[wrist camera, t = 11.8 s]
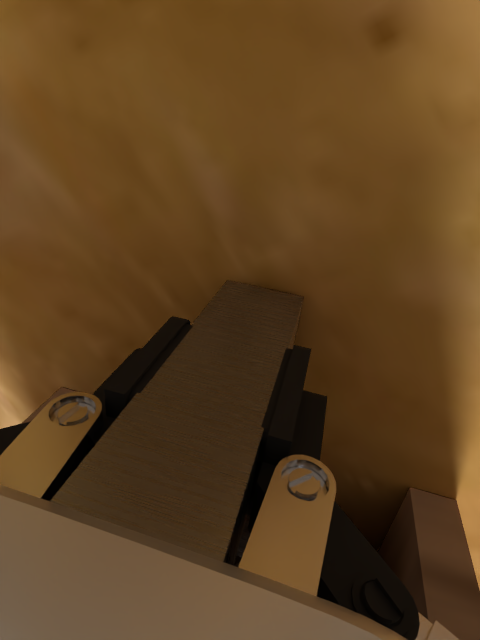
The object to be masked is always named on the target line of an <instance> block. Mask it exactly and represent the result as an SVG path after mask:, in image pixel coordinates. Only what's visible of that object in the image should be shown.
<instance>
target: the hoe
mask: <svg viewBox="0 0 480 640" xmlns="http://www.w3.org/2000/svg"><path fill="white" fill-rule="evenodd" d="M303 299H304V297H303V296H299V295H294V294H289V293H285V292H280V291H275V290H271V289H266V288H261V287H257V286H252V285H247V284H243V283H238V282H233V281H229V280H227V281H226V282H225V284H224V285H223V286H222V287H221V289H220V290H219V291H218V292H217V294H216V295H215V296H214V297H213V299H212V300H211V301H210V302H209V304H208V305H207V306H206V307H205V309H204V310H203V311H202V312H201V314H200V315H199V316H198V317H197V319H196V320H195V321H194V322H193V324H192V326H193V327H192V328H191V329H190V330H189V332H188V333H187V334H186V335H185V337H184V338H183V339H182V341H181V342H180V343H179V344H178V346H177V347H176V348H175V349H174V351H173V352H172V353H171V354H170V356H169V357H168V358H167V360H166V361H165V362H164V363H163V365H162V366H161V367H160V368H159V370H158V371H157V372H156V373H155V375H154V376H153V377H152V379H151V380H150V381H149V382H148V384H147V385H146V386H145V387H144V389H143V390H142V391H141V392H140V393H136V395H135V396H134V397H133V398H132V400H131V401H130V402H129V403H128V405H127V406H126V407H125V408H124V410H123V411H122V412H121V413H120V415H119V416H118V417H117V418H116V420H115V421H114V422H113V423H112V425H111V426H110V427H109V428H108V430H107V431H106V432H105V433H104V435H103V436H102V437H101V438H100V440H99V441H98V442H97V443H96V445H95V446H94V447H93V448H92V450H91V451H90V452H89V453H88V455H87V456H86V457H85V458H84V460H83V461H82V462H81V463H80V465H79V466H78V467H77V468H76V470H75V471H74V472H73V473H72V475H71V476H70V477H69V478H68V480H67V481H66V482H65V483H64V485H63V486H62V487H61V488H60V490H59V491H58V492H57V493H56V494H55V496H54V497H53V498H52V499H51V501H50V502H52V503H55V504H58V505H61V506H64V507H67V508H70V509H73V510H76V511H78V512H81V513H84V514H87V515H90V516H93V517H96V518H99V519H102V520H104V521H107V522H110V523H113V524H116V525H119V526H122V527H125V528H127V529H130V530H133V531H136V532H139V533H142V534H145V535H147V536H150V537H153V538H156V539H159V540H162V541H165V542H168V543H170V544H173V545H176V546H179V547H182V548H184V549H187V550H190V551H193V552H196V553H199V554H201V555H204V556H207V557H210V558H213V559H215V560H218V561H221V562H224V563H227V564H230V565H232V566H235V567H239V564H240V561H241V559H242V556H243V553H244V551H245V548H246V545H247V542H248V540H249V537H250V533H249V531H248V525H249V520H250V515H247V511H248V505H249V500H250V495H251V490H252V484H253V479H254V474H255V469H256V463H257V458H258V453H259V448H260V443H261V438H262V434H263V430H264V428H262V427H261V426H262V422H263V419H264V416H265V413H266V410H267V407H268V403H269V400H270V397H271V394H272V391H273V388H274V384H275V381H276V378H277V375H278V372H279V369H280V365H281V362H282V359H283V356H284V353H285V350H286V348H289V349H293V346H294V342H295V337H296V332H297V327H298V323H299V318H300V313H301V309H302V304H303Z"/></svg>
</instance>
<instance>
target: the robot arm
mask: <svg viewBox="0 0 480 640" xmlns="http://www.w3.org/2000/svg"><path fill="white" fill-rule="evenodd" d="M192 327H193V326H192V325H190V321H189V320H187V319H182V318H178V317H174V316H172V317H171V318H170V319H169V320H168V321H167V322H166V323H165V324H164V325H163V326H162V327H161V329H160V330H159V331H158V332H157V333H156V334H155V335H154V336H153V337H152V338H151V339H150V340H149V341H148V343H147V344H146V345H145V346H144V347H143V348H142V349H140V348H139V349H136V350H135V351H133V353H132V354H131V355H130V356H129V357H128V358H127V359H126V360H125V361H124V362H123V363H122V364H121V365H120V366H119V367H118V368H117V369H116V370H115V371H114V372H113V373H112V375H111V376H110V377H109V378H108V379H107V380H106V381H105V382H104V383H103V384H102V385H101V386H100V387H99V388H98V389H97V390H96V391H95V392H94V393H93V394H90V393H86V392H71V393H67V394H63V395H60V396H58V397H56V398H54V399H53V400H51V401H50V402H49V403H48V404H47V405H46V406H45V407H44V408H43V409H42V410H41V411H40V412H39V413H38V415H37V416H36V417H35V418H34V419H33V420H32V421H30V422H26V423H22V424H18V425H14V426H10V427H7V428H3V429H0V640H459V639H458V638H457V637H456V636H455V635H453V634H452V633H451V632H450V631H449V630H447V629H446V628H445V627H444V626H442V625H441V624H440V623H439V622H438V621H435V622H434V623H433V624H432V623H431V622H430V621H428V620H427V619H426V618H425V617H424V616H423V615H421V614H420V613H419V612H418V609H417V607H416V604H415V602H414V599H413V597H412V596H411V594H410V593H409V591H408V590H407V588H406V587H405V585H404V584H403V583H402V582H401V581H400V579H399V578H398V577H397V576H396V574H395V573H394V572H393V571H392V570H391V568H390V567H389V566H388V565H387V564H386V562H385V561H384V560H383V559H382V558H381V556H380V555H379V554H378V553H377V551H376V550H375V549H374V548H373V547H372V545H371V544H370V543H369V542H368V541H367V539H366V538H365V537H364V536H363V535H362V533H361V532H360V531H359V530H358V528H357V527H356V526H355V525H354V524H353V522H352V521H351V520H350V519H349V518H348V516H347V515H346V514H345V513H344V511H343V510H342V509H341V508H340V507H339V505H338V504H337V503H336V502H335V501H334V500H335V494H336V481H335V479H334V476H333V474H332V473H331V471H330V470H329V469H328V467H327V466H325V465H324V464H323V463H322V462H321V461H320V455H321V446H322V438H323V429H324V420H325V412H326V403H327V396H323V395H319V394H316V393H312V392H308V391H304V390H303V386H304V381H305V376H306V371H307V367H308V362H309V357H310V352H311V349H309V348H305V347H301V346H296V345H294V346H293V349H289V348H286V350H285V353H284V356H283V359H282V362H281V365H280V369H279V372H278V375H277V378H276V381H275V384H274V388H273V391H272V394H271V397H270V400H269V403H268V407H267V410H266V413H265V416H264V419H263V422H262V426H261V427H262V428H264V430H263V434H262V438H261V443H260V448H259V453H258V458H257V463H256V469H255V474H254V479H253V484H252V490H251V495H250V500H249V505H248V511H247V515H250V520H249V525H248V531H249V533H250V537H249V540H248V542H247V545H246V548H245V551H244V553H243V556H242V559H241V561H240V564H239V567H235V566H232V565H230V564H227V563H224V562H221V561H218V560H215V559H213V558H210V557H207V556H204V555H201V554H199V553H196V552H193V551H190V550H187V549H184V548H182V547H179V546H176V545H173V544H170V543H168V542H165V541H162V540H159V539H156V538H153V537H150V536H147V535H145V534H142V533H139V532H136V531H133V530H130V529H127V528H125V527H122V526H119V525H116V524H113V523H110V522H107V521H104V520H102V519H99V518H96V517H93V516H90V515H87V514H84V513H81V512H78V511H76V510H73V509H70V508H67V507H64V506H61V505H58V504H55V503H52V502H50V501H51V499H52V498H53V497H54V496H55V494H56V493H57V492H58V491H59V490H60V488H61V487H62V486H63V485H64V483H65V482H66V481H67V480H68V478H69V477H70V476H71V475H72V473H73V472H74V471H75V470H76V468H77V467H78V466H79V465H80V463H81V462H82V461H83V460H84V458H85V457H86V456H87V455H88V453H89V452H90V451H91V450H92V448H93V447H94V446H95V445H96V443H97V442H98V441H99V440H100V438H101V437H102V436H103V435H104V433H105V432H106V431H107V430H108V428H109V427H110V426H111V425H112V423H113V422H114V421H115V420H116V418H117V417H118V416H119V415H120V413H121V412H122V411H123V410H124V408H125V407H126V406H127V405H128V403H129V402H130V401H131V400H132V398H133V397H134V396H135V395H136V393H140V392H141V391H142V390H143V389H144V387H145V386H146V385H147V384H148V382H149V381H150V380H151V379H152V377H153V376H154V375H155V373H156V372H157V371H158V370H159V368H160V367H161V366H162V365H163V363H164V362H165V361H166V360H167V358H168V357H169V356H170V354H171V353H172V352H173V351H174V349H175V348H176V347H177V346H178V344H179V343H180V342H181V341H182V339H183V338H184V337H185V335H186V334H187V333H188V332H189V330H190V329H191V328H192Z"/></svg>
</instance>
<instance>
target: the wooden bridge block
mask: <svg viewBox="0 0 480 640" xmlns="http://www.w3.org/2000/svg"><path fill="white" fill-rule="evenodd" d="M71 392H76V391H73V390H69V389H66V388H63V387H61V388H60V389H59V390H58V391H57V392H55V393H54V394H53V395H52V396H51V397H50V398H49V399H48V400H47V401H46V402H45V403H43V404H42V405H41V406H40V407H39V408H38V409H37V410H36V411H35V412H34V413H32V414H31V415H30V416H29V417H28V418H27V419H26V420H25V421H24V422H23V423H26V422H30V421H32V420H33V419H34V418H35V417H36V416H37V415H38V413H39V412H40V411H41V410H42V409H43V408H44V407H45V406H46V405H47V404H48V403H49V402H50V401H51V400H53V399H54V398H56V397H58V396H60V395H63V394H67V393H71ZM21 424H22V423H21ZM378 554H379V555H380V556H381V558H382V559H383V560H384V561H385V562H386V564H387V565H388V566H389V567H390V568H391V570H392V571H393V572H394V573H395V574H396V576H397V577H398V578H399V579H400V581H401V582H402V583H403V584H404V585H405V587H406V588H407V590H408V591H409V593H410V594H411V596H412V597H413V599H414V602H415V604H416V607H417V609H418V612H419V613H420V614H421V615H423V616H424V617H425V618H426V619H427V620H428V621H430V622H431V623H432V624H433V623H434V622H435V621H438V622H439V623H440V624H441V625H442V626H444V627H445V628H446V629H447V630H449V631H450V632H451V633H452V634H453V635H455V636H456V637H457V638H458V639H459V640H480V591H479V587H478V583H477V579H476V575H475V571H474V567H473V563H472V560H471V556H470V552H469V548H468V544H467V540H466V536H465V532H464V528H463V524H462V520H461V517H460V513H459V509H458V505H457V501H456V500H453V499H449V498H446V497H442V496H439V495H435V494H432V493H429V492H425V491H422V490H418V489H415V488H411V487H410V488H409V490H408V492H407V494H406V496H405V498H404V500H403V502H402V504H401V506H400V508H399V510H398V513H397V515H396V517H395V519H394V521H393V523H392V525H391V527H390V529H389V531H388V533H387V535H386V537H385V539H384V541H383V543H382V545H381V547H380V549H379V551H378Z"/></svg>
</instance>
